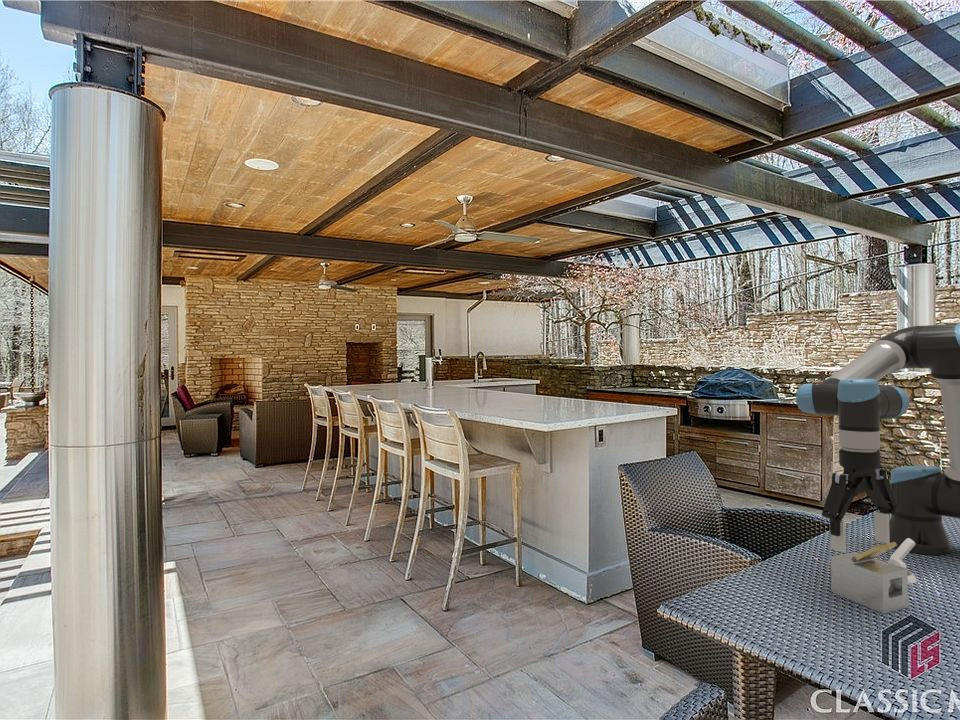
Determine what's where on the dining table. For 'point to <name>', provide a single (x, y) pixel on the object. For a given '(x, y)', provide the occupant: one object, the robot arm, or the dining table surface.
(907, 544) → the grey ring with handle
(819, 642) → the dining table surface
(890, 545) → the plate
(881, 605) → the block
